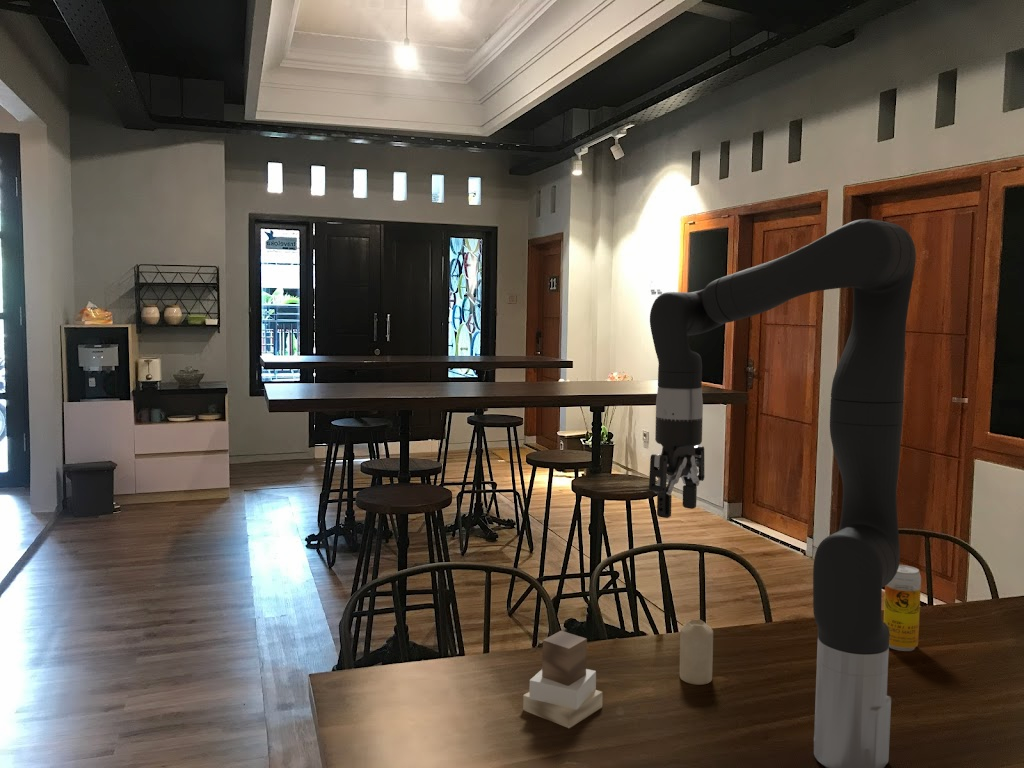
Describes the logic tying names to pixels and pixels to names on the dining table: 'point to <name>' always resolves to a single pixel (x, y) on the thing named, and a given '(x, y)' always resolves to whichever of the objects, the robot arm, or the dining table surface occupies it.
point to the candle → (696, 652)
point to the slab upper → (562, 690)
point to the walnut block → (564, 658)
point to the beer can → (903, 608)
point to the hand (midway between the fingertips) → (677, 512)
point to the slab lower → (563, 709)
